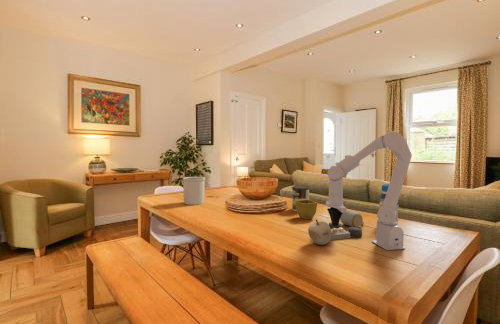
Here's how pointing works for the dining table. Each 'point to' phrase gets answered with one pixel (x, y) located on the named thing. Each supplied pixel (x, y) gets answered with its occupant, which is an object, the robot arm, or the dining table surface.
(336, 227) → the cord coil
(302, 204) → the flower pot
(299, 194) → the coffee can
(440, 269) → the dining table surface
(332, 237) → the grey egg carton
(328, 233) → the decorative object
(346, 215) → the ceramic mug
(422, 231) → the dining table surface
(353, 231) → the cord coil
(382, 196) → the beverage bottle
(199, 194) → the utensil holder
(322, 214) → the dining table surface
